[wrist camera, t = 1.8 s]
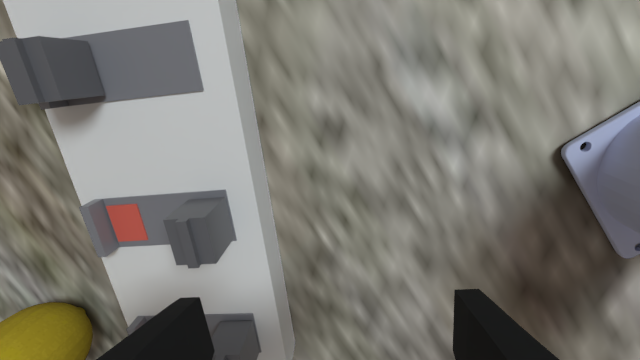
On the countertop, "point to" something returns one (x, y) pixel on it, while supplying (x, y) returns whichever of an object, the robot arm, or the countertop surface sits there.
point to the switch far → (235, 341)
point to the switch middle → (199, 231)
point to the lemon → (46, 333)
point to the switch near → (49, 69)
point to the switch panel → (168, 155)
